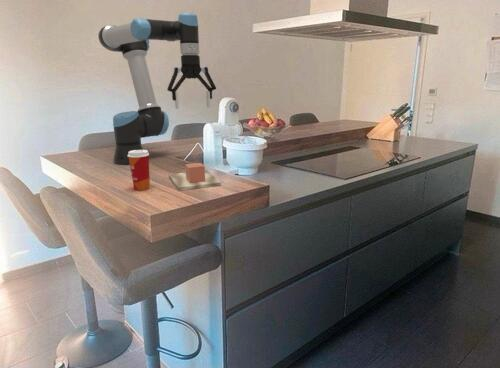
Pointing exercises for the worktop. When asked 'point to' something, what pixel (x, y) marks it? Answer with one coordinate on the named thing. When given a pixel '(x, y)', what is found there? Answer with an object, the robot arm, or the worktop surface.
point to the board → (183, 184)
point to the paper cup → (139, 169)
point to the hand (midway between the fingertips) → (193, 107)
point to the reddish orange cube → (195, 172)
